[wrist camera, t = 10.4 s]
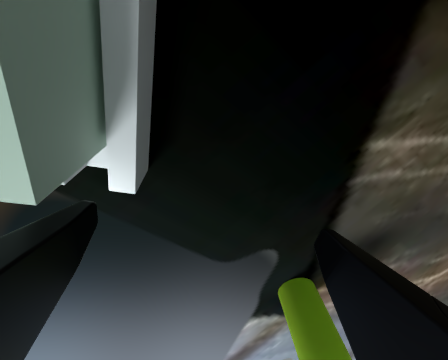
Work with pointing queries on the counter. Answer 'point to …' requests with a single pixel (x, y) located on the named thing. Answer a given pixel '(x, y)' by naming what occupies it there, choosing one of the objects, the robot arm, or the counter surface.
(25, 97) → the green sheet
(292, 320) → the soap dispenser
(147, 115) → the grey slotted stand
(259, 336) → the counter surface
